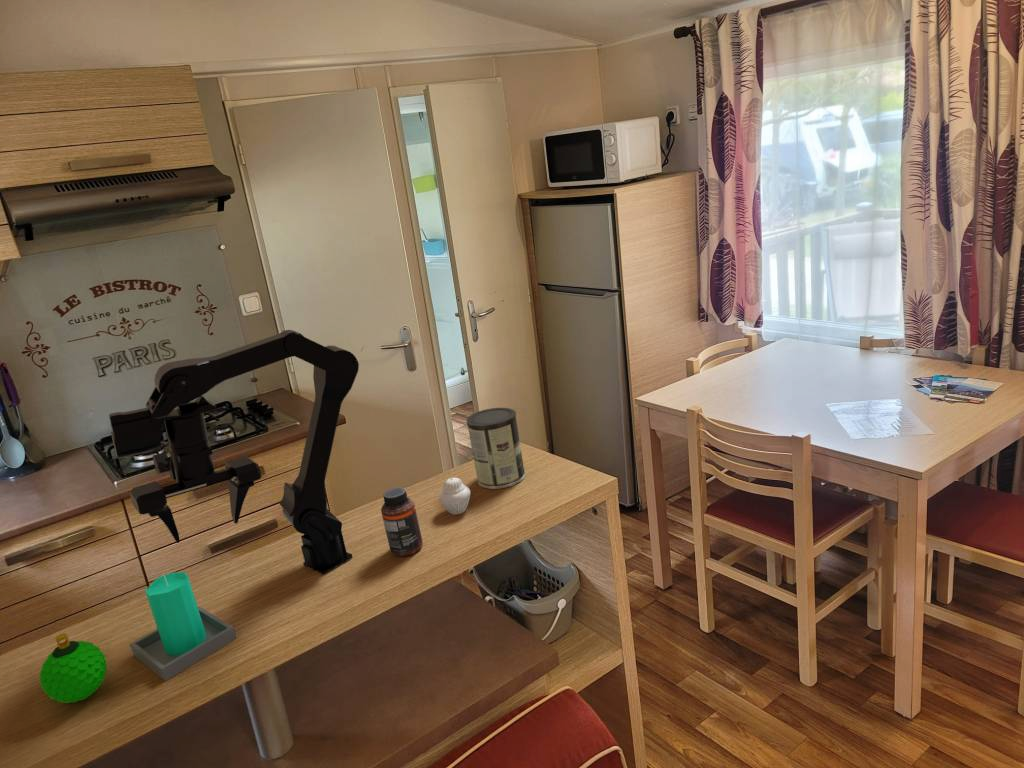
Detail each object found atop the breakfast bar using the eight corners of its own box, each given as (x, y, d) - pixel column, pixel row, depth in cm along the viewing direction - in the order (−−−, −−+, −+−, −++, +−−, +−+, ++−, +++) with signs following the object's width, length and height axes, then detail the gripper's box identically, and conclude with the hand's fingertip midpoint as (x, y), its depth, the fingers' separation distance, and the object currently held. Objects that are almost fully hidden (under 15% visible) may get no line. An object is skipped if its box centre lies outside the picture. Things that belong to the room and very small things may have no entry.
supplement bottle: (410, 537, 137) (398, 481, 134) (430, 546, 133) (418, 488, 130) (383, 552, 134) (371, 494, 130) (403, 561, 129) (390, 502, 126)
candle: (190, 627, 118) (169, 560, 114) (214, 635, 115) (193, 566, 111) (156, 650, 113) (133, 581, 110) (180, 659, 110) (158, 588, 106)
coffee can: (500, 465, 164) (490, 404, 160) (535, 473, 157) (526, 410, 153) (466, 483, 157) (455, 421, 153) (501, 493, 150) (490, 428, 146)
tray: (202, 616, 122) (199, 606, 121) (236, 638, 114) (233, 626, 114) (133, 655, 114) (129, 644, 113) (165, 681, 106) (161, 669, 106)
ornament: (106, 669, 111) (86, 611, 108) (120, 693, 105) (99, 632, 102) (46, 698, 107) (22, 639, 104) (56, 725, 100) (32, 663, 98)
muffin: (435, 513, 146) (429, 480, 144) (460, 500, 149) (454, 468, 147) (454, 521, 141) (448, 488, 139) (479, 508, 145) (474, 475, 143)
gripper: (231, 416, 129) (246, 499, 133) (113, 446, 118) (134, 535, 122) (254, 430, 120) (270, 519, 124) (129, 464, 109) (150, 559, 114)
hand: (207, 532), depth 121 cm, fingers open, 9 cm apart
